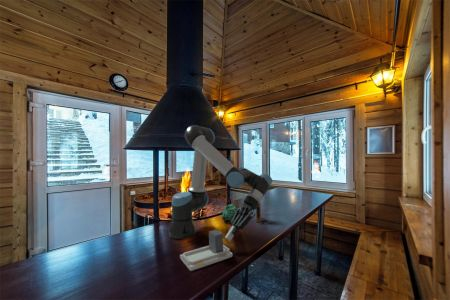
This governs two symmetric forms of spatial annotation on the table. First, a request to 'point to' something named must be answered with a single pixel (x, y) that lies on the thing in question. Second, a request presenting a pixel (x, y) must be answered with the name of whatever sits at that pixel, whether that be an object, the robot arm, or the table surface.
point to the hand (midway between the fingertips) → (227, 239)
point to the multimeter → (258, 214)
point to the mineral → (228, 212)
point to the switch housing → (204, 257)
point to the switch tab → (215, 241)
